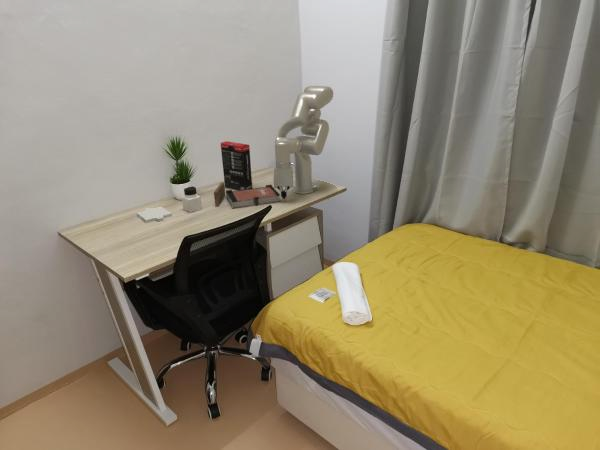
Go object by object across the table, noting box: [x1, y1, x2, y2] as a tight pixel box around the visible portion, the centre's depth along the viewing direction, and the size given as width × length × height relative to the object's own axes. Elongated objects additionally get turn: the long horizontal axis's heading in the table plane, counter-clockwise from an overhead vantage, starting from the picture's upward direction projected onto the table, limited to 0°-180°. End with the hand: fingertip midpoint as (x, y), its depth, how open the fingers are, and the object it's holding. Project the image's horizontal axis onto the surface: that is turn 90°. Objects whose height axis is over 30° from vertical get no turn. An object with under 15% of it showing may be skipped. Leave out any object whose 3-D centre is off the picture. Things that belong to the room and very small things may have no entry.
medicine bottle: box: [181, 185, 203, 213], centre depth 207 cm, size 7×7×12 cm
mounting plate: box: [136, 206, 173, 224], centre depth 202 cm, size 18×13×2 cm
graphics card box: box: [220, 141, 253, 191], centre depth 233 cm, size 17×7×27 cm, turn 58°
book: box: [225, 184, 281, 210], centre depth 219 cm, size 26×18×5 cm
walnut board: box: [213, 181, 226, 208], centre depth 218 cm, size 2×17×8 cm, turn 177°
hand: (283, 197), depth 216 cm, fingers closed
